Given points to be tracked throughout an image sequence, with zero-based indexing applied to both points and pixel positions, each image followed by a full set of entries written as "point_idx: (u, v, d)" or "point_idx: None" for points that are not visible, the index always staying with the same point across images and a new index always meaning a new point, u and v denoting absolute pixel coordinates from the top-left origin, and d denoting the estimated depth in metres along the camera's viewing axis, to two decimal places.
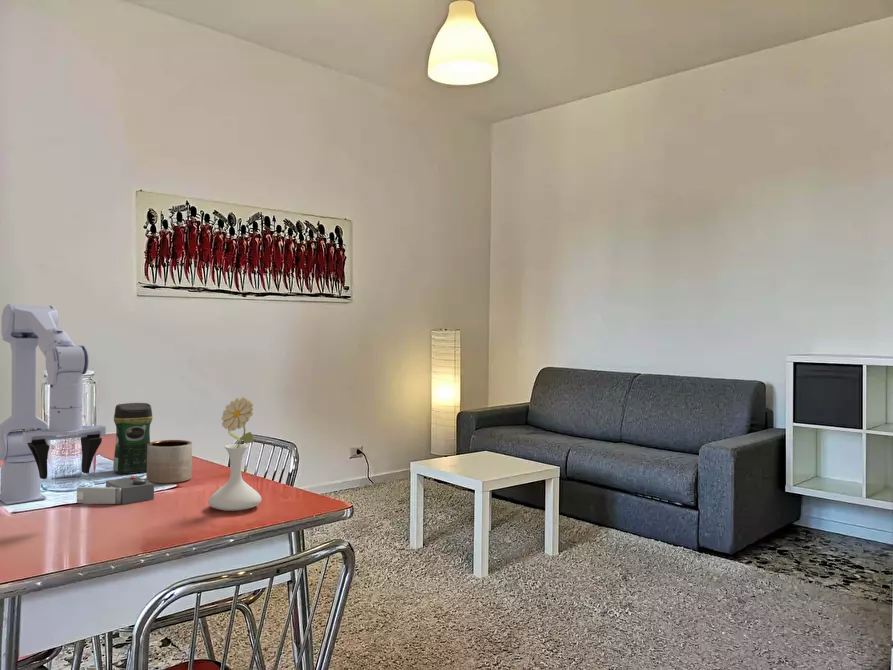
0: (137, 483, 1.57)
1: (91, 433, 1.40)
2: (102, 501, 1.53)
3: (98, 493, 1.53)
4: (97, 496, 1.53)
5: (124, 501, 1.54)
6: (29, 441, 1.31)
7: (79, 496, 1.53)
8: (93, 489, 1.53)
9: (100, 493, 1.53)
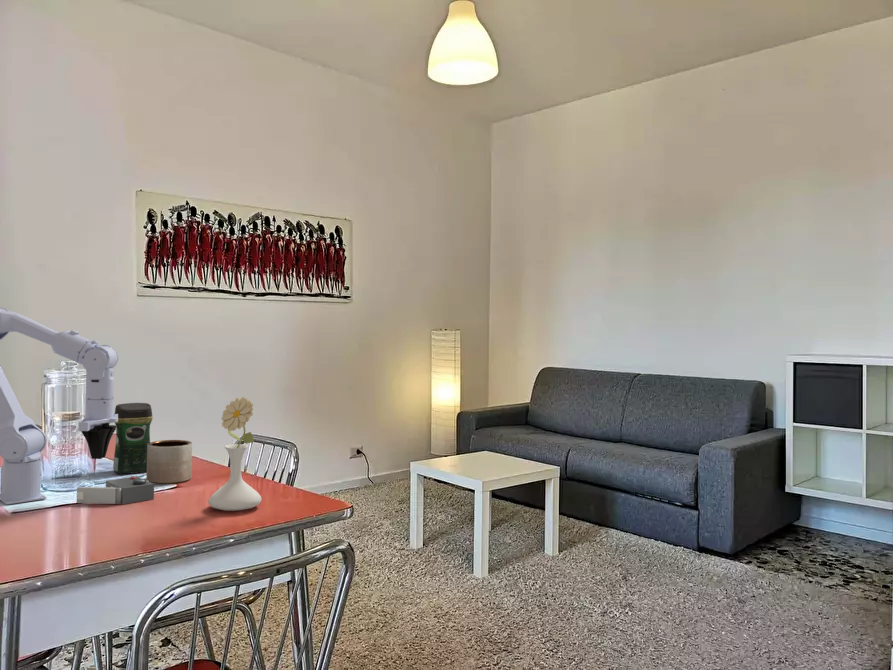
0: (137, 483, 1.57)
1: None
2: (102, 501, 1.53)
3: (98, 493, 1.53)
4: (97, 496, 1.53)
5: (124, 501, 1.54)
6: (88, 429, 1.51)
7: (79, 496, 1.53)
8: (93, 489, 1.53)
9: (100, 493, 1.53)
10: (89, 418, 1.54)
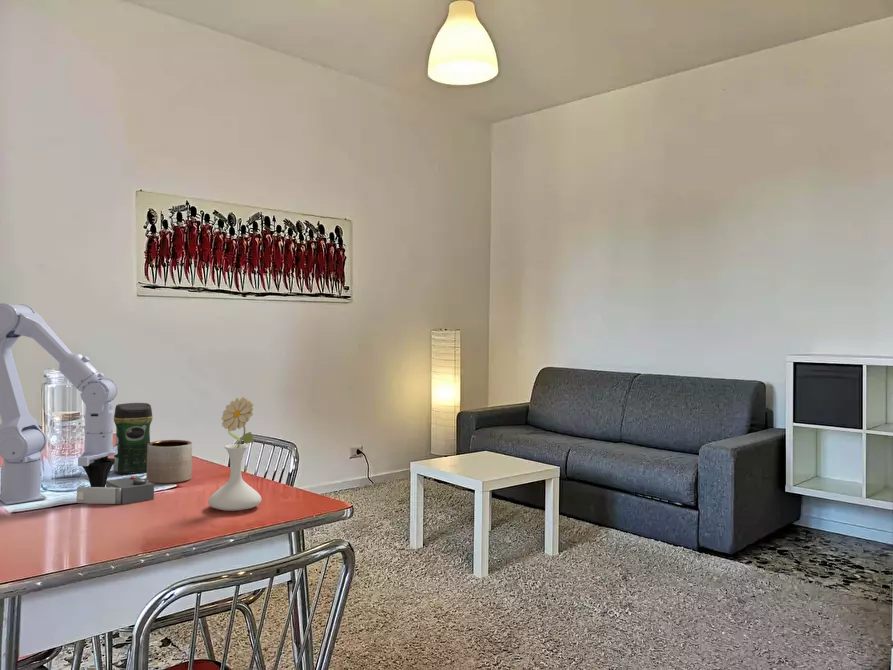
0: (137, 483, 1.57)
1: None
2: (102, 501, 1.53)
3: (98, 493, 1.53)
4: (97, 496, 1.53)
5: (124, 501, 1.54)
6: (88, 464, 1.51)
7: (79, 496, 1.53)
8: (93, 489, 1.53)
9: (100, 493, 1.53)
10: (88, 452, 1.55)
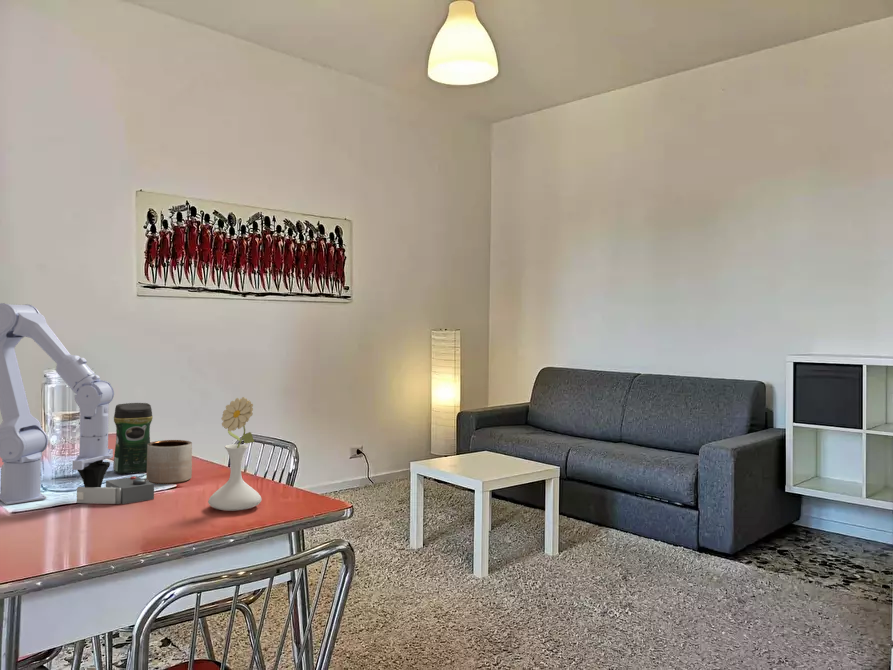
0: (137, 483, 1.57)
1: None
2: (102, 501, 1.53)
3: (98, 493, 1.53)
4: (97, 496, 1.53)
5: (124, 501, 1.54)
6: (83, 468, 1.48)
7: (79, 496, 1.53)
8: (93, 489, 1.53)
9: (100, 493, 1.53)
10: (83, 456, 1.52)
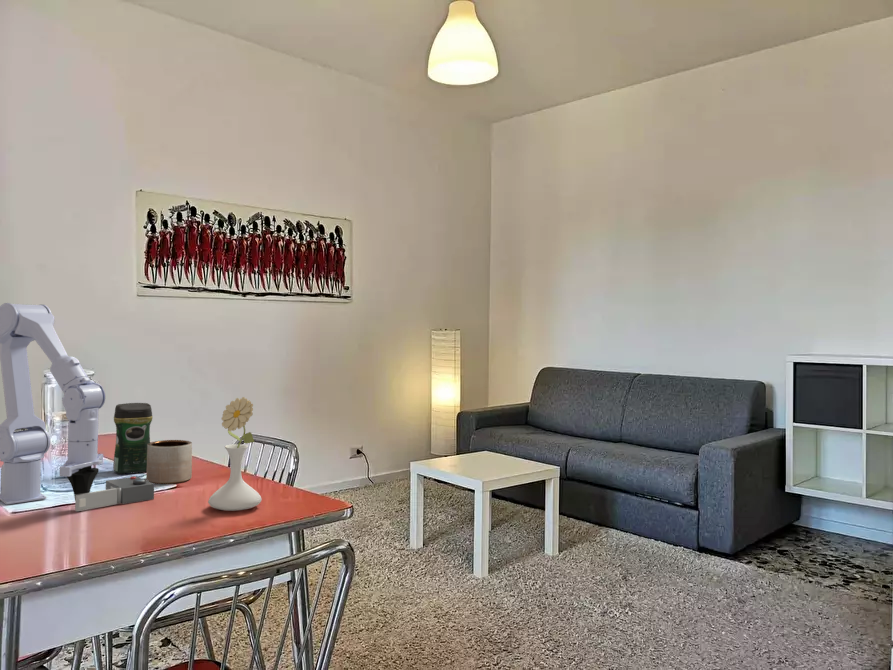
0: (137, 483, 1.57)
1: None
2: (104, 504, 1.51)
3: (99, 497, 1.50)
4: (98, 499, 1.50)
5: (124, 501, 1.54)
6: (70, 474, 1.42)
7: (81, 503, 1.47)
8: (94, 494, 1.49)
9: (101, 496, 1.50)
10: (71, 461, 1.46)
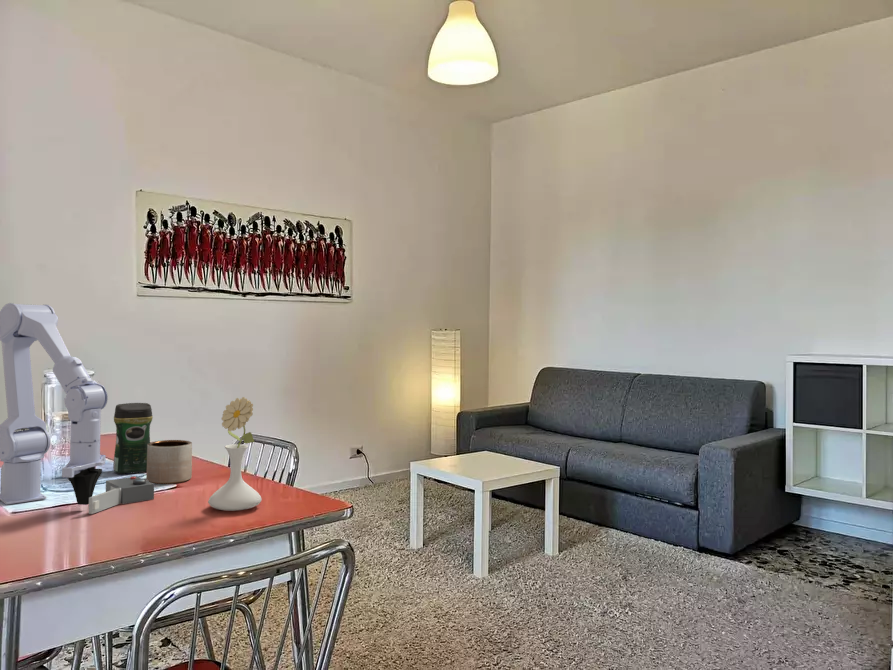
0: (137, 483, 1.57)
1: None
2: (110, 505, 1.50)
3: (107, 498, 1.49)
4: (106, 501, 1.49)
5: (124, 501, 1.54)
6: (73, 475, 1.41)
7: (96, 505, 1.45)
8: (104, 495, 1.48)
9: (108, 497, 1.50)
10: (74, 462, 1.45)
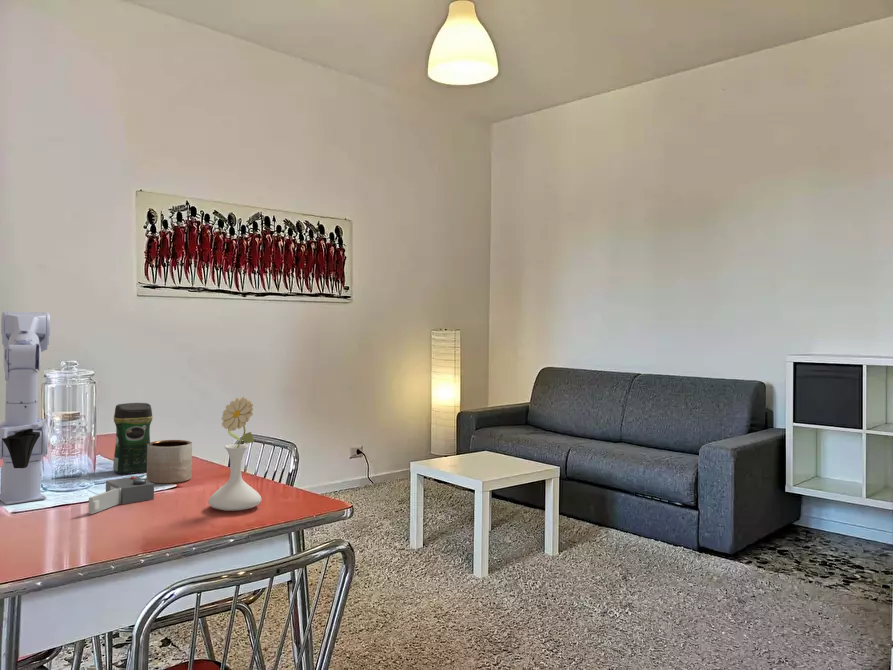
0: (137, 483, 1.57)
1: None
2: (110, 505, 1.50)
3: (107, 498, 1.49)
4: (106, 501, 1.49)
5: (124, 501, 1.54)
6: (6, 436, 1.36)
7: (96, 505, 1.45)
8: (104, 495, 1.48)
9: (108, 497, 1.50)
10: (9, 424, 1.40)
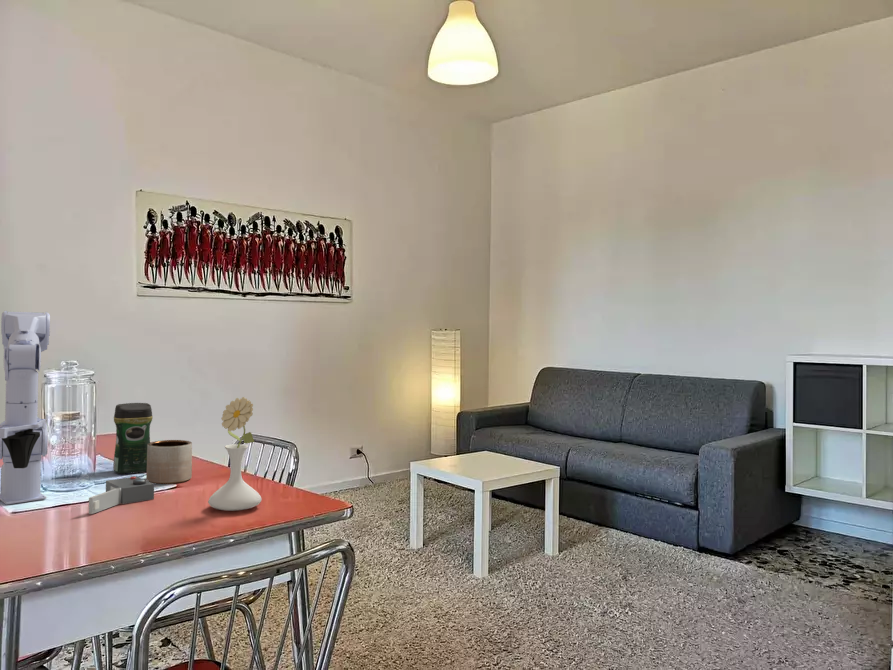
0: (137, 483, 1.57)
1: None
2: (110, 505, 1.50)
3: (107, 498, 1.49)
4: (106, 501, 1.49)
5: (124, 501, 1.54)
6: (6, 436, 1.36)
7: (96, 505, 1.45)
8: (104, 495, 1.48)
9: (108, 497, 1.50)
10: (9, 424, 1.40)
